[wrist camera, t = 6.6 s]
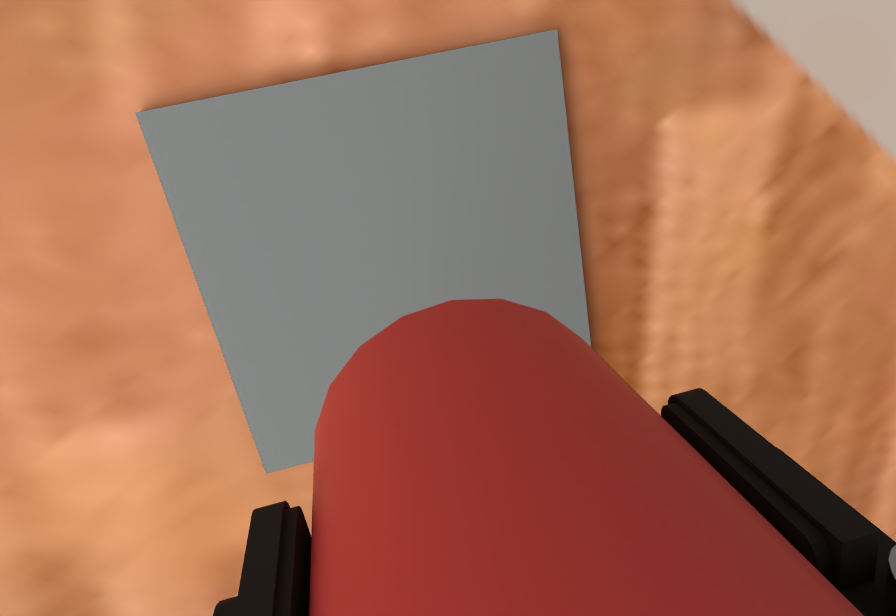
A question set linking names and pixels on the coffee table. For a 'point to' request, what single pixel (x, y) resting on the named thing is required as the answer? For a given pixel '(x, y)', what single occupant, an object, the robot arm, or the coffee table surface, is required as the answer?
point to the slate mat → (369, 213)
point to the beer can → (526, 487)
